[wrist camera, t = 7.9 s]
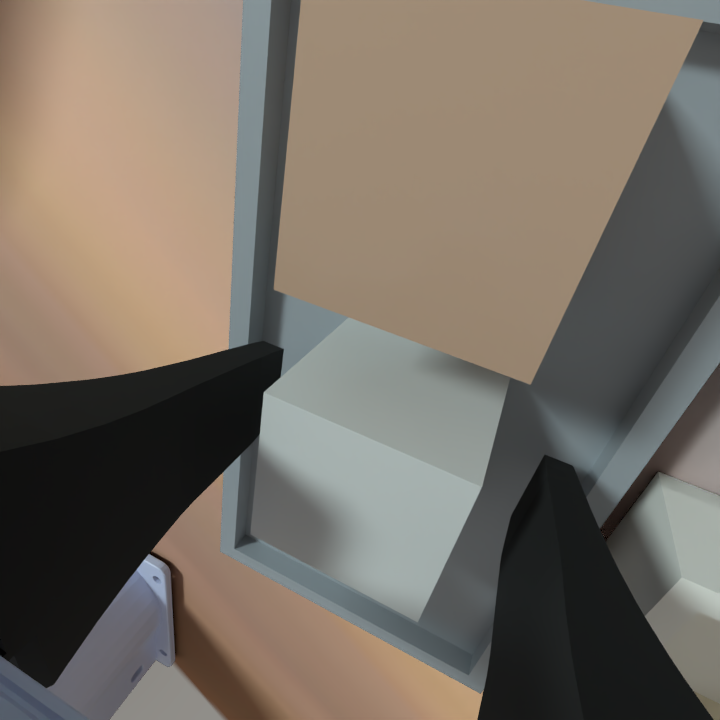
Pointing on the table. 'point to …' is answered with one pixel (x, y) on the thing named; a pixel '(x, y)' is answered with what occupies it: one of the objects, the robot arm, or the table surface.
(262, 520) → the light grey cube
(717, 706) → the cream cube
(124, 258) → the table surface
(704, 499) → the dish
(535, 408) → the parts tray
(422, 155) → the tan cube
